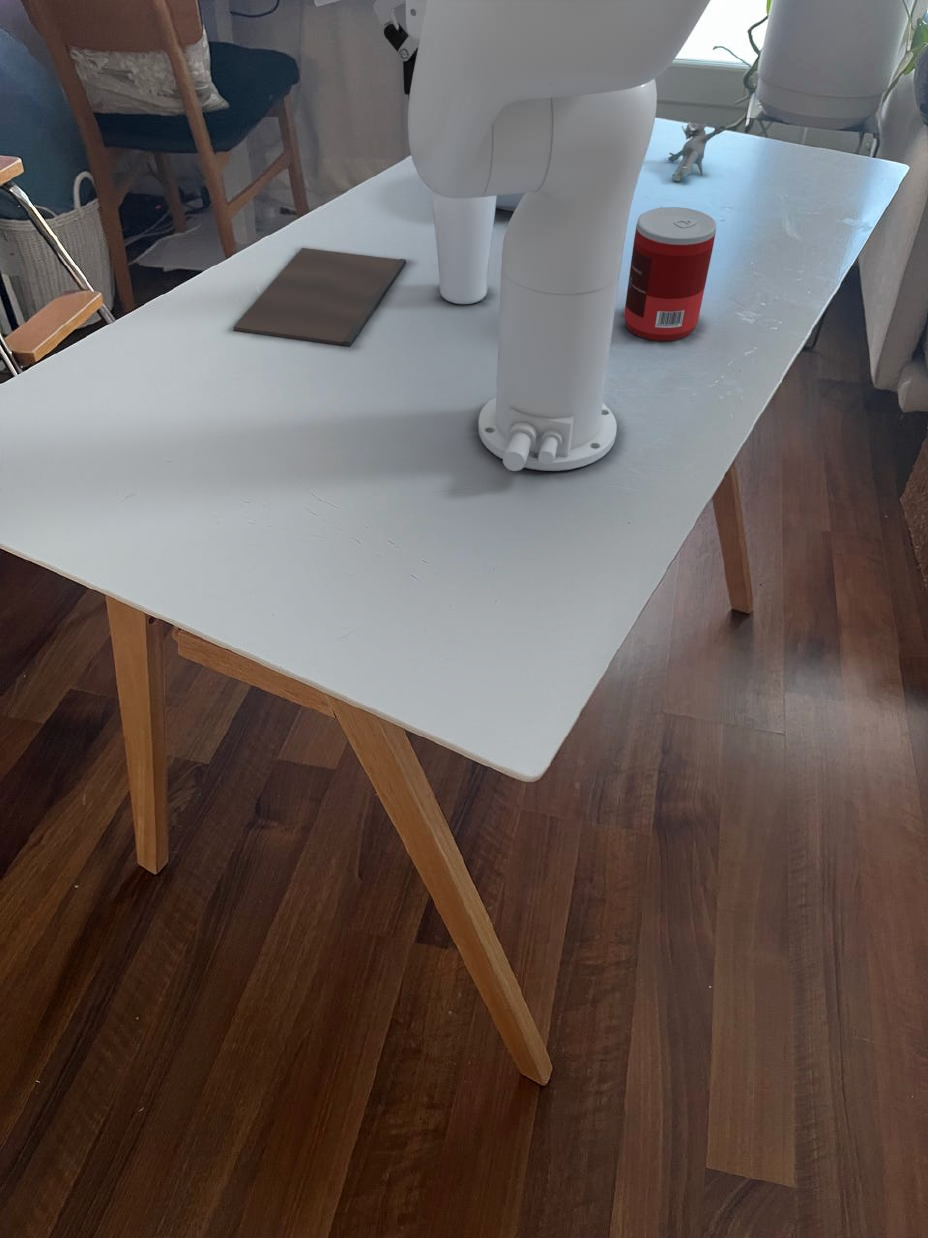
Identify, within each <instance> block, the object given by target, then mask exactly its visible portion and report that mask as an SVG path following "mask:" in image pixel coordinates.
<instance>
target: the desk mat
mask: <svg viewBox="0 0 928 1238" xmlns="http://www.w3.org/2000/svg"><path fill="white" fill-rule="evenodd" d="M406 264H407V259H404V258H398V259H397V258H389V257H383V256H382V257H381V256H374V255H366V254H356V253H348V252H341V251H333V250H332V251H331V250H324V249H315V248H309V247H308V248H307V247H301V249H300V250H299V251H298V252H297V253H296V254H295V255H294V256H293V258H291V260H290V261H289V262H288V263H287V265H286V266H284V268H283V269H282V270H281V271H280V272H279V273H278V275H277V276H276V277H275V278H274V279H273V281H271V283H270V284H269V285H268V286H267V287H266V289H265V290H264V291H263V292H262V294H261V295H259V296H258V298H257V299H256V300H255V301H254V302H253V303H252V305H251V306H250V307H249V308H248V309H247V310H246V311H245V313H244V314H243V315H242V316H241V317H240V318H239V319H238V321H237V322H236V323H235V324H234V325H233V327H232V328H233V331H237V332H244V333H252V334H259V335H265V336H273V337H279V338H287V339H295V340H301V341H302V340H303V341H308V342H309V341H310V342H316V343H323V344H330V345H337V346H344V347H351V346H352V345H353V343H354V341H356V339H357V337H358V336H359V334H360V333H361V331H362V330H363V328H364V327H365V326H366V324H367V322H369V319H370V318H371V316H372V315H373V313H374V312H375V311H376V309H377V307H378V306H379V305H380V303H381V301H382V300H383V299H384V297H385V296H386V294H387V292H388V291H389V290H390V288H391V286H392V285H393V284H394V282H395V281H396V279H397V278H398V276H399V274H400V273H401V271H402V270H403V268H405V266H406Z"/></svg>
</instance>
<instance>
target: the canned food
mask: <svg viewBox="0 0 928 1238" xmlns="http://www.w3.org/2000/svg"><path fill="white" fill-rule="evenodd" d="M716 231H717V223H716V220H715V219H714V218H713V217H711V216H710V215H709V214H707V213H705V212H703V211H701V210H697V209H692V208H687V207H682V206H681V207H678V206H665V207H658V208H653V209H649V210H647V211H645V212H643V213H641V214H640V215H639V216H638V217H637V221H636V226H635V233H634V237H633V238H634V239H633V245H632V251H631V261H630V267H629V276H628V283H627V290H626V298H625V304H624V305H625V306H624V313H623V318H624V323H625V326H626V328H627V329H628V330H629V331H630V332H631V333H632V334H634V335H635V336H637V337H640V338H642V339H646V340H651V341H656V342H669V341H670V342H671V341H676V340H680V339H683V338H685V337H687V336H689V335H690V334H692V333H693V331H694V329H695V328H696V326H697V324H698V322H699V317H700V313H701V308H702V304H703V297H704V293H705V288H706V283H707V278H708V274H709V270H710V264H711V259H712V254H713V249H714V244H715V240H716V239H715V238H716V233H717V232H716Z"/></svg>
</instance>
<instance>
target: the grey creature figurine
mask: <svg viewBox="0 0 928 1238" xmlns="http://www.w3.org/2000/svg"><path fill="white" fill-rule="evenodd" d="M709 124H710V120H705V121H704V122H702V123H700V124H699V123H698V122H695V123H693V122H691V121H688V123H687V125H686V127H684V125H681V129H682V131H683V134H684V135H685V140H688V141H686V142H685V143H684V144H683V147H682V149H681V150H680V151H678V152H677V153H673V152H669V155H670V156H669V157H667V159H668V161H669V162H671V163H673V162H675V161H677V160H679V159H680V157H682V159H681V161H680V162H679V164H678V166H677V168H676V170H675V172H673V173H672V175H671V177H672V179H673V180H674V181H675V182H678V183H679V182H681V181H682V179H683V176H684V175H685V176H687V177H689V176H691V173H692V171H693V167H694V165H697V167H698V170H699V172H700V175H701V176H703V163H702V162H703V159H704V157H705V150H706V145H707V143H708V141H710V140H711V139H712V138H714V137H715V136H717V135H719V134H721V133H723V132H724V131H726V129H727V126H726V124H724V123H722V124H721V125H719V126H717V124H716V123H714V124H713V126H714V129H713V131H711V132H709V133H706V130H705V129H706V127H707V126H708V125H709Z"/></svg>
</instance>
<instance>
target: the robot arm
mask: <svg viewBox="0 0 928 1238" xmlns="http://www.w3.org/2000/svg"><path fill="white" fill-rule="evenodd" d="M710 2H711V0H376V1H375V2H374V3H373V4H372V8H373V12H374V13H375V16H376V18H377V20H378V22H379V24H380V26H381V27H382V30H383V35H384V37H385V40H387V41H388V43H389V44H390V45H391V46H392V48H393V49H394V50H395V51H396V52H397V56H398V58H399V59H400V60H401V61H402V74H403V75H402V76H403V93H404V95H406V96H407V95H408V105H407V106H408V107H407V136H408V138H407V139H408V146H409V151H410V156H411V159H412V163H413V165H414V168H415V171H416V173H417V175H418V176H419V178H420V180H421V181H422V182H423V183H424V185H426V187H427V188H428V189H430V190H431V192H432V191H434V192H435V193H437V194H439V195H441V196H444V197H448V198H477V197H478V198H479V197H489V196H498V195H508V194H517V193H525V195H524V196H523V198H522V199H521V201H520V203H519V204H518V206H517V208H516V209H515V211H513V214H512V216H511V217H510V220H509V222H508V223H507V227H506V230H505V232H504V237H503V242H502V250H501V265H500V288H499V289H500V290H499V291H500V293H499V315H498V316H499V318H498V342H497V343H498V345H497V368H496V369H497V371H496V393H495V394H496V395H495V396H494V397H492V398H490V400H488V401H487V402H486V403H485V405H484V406H483V407H482V408H481V410H480V412H479V415H478V426H477V428H478V436H479V438H480V441H481V442H482V443H483V445H484V446H485V447H486V449H487V450H489V451H490V452H491V453H492V454H493V455H494V456H496V457H498V458H500V459H502V464H503V465H504V467H505V468H506V469H507V470H509V471H513V472H518V471H519V472H520V471H521V470H522V469H524V468H525V469H529V470H536V471H545V472H546V471H549V472H550V471H551V472H559V471H568V470H569V471H570V470H573V469H577V468H582V467H584V466H588V465H591V464H593V463H595V462H596V461H598V460H600V459H602V458H603V457H604V456H605V455H606V454H608V453H609V452H610V451H611V449H612V447H613V446H614V444H615V441H616V436H617V429H618V428H617V427H618V423H617V420H616V417H615V415H614V413H613V412H612V410H611V409H610V408H609V407H608V406H607V405H606V404H605V403H604V398H605V397H604V396H605V389H606V381H607V375H608V374H607V373H608V368H609V367H608V366H609V359H610V351H611V345H612V344H611V343H612V337H613V330H614V322H615V313H616V305H617V299H618V292H619V284H620V275H621V269H622V263H623V255H624V249H625V241H626V236H627V229H628V224H629V222H628V221H629V217H630V214H631V209H632V203H633V200H634V195H635V191H636V187H637V184H638V181H639V177H640V174H641V171H642V168H643V165H644V162H645V159H646V155H647V152H648V150H649V147H650V142H651V139H652V136H653V132H654V127H655V121H656V115H657V110H658V109H657V106H658V104H657V103H658V92H657V84H656V78H658V77H659V76H660V75H662V74H663V73H664V72H665V71H666V70H667V69H668V68H669V67H670V65H671V64H672V63H673V62H674V60H675V59H676V58H677V56H678V55H679V53H680V52H681V50H682V49H683V47H684V46H685V44H686V43H687V41H688V39H689V37H690V36H691V34H692V33H693V31H694V30H695V27H696V26H697V24H698V23H699V21H700V19H701V17H702V15H703V14H704V12H705V10H706V9H707V7H708V6H709V4H710ZM404 4H405V27H406V30H405V28H404V27H402V25H401V23H399V22H398V20H397V17H396V15H395V9H396V8H398V7H400V6H401V5H404Z"/></svg>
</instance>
